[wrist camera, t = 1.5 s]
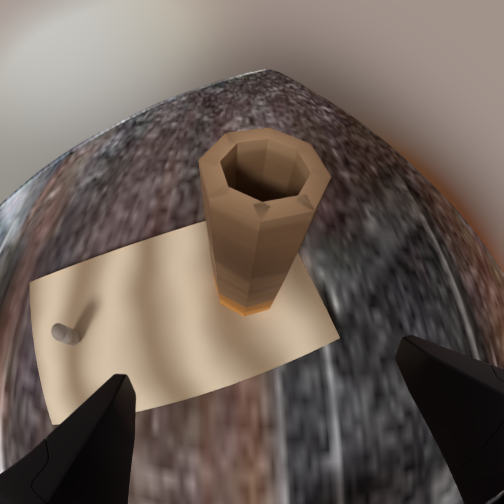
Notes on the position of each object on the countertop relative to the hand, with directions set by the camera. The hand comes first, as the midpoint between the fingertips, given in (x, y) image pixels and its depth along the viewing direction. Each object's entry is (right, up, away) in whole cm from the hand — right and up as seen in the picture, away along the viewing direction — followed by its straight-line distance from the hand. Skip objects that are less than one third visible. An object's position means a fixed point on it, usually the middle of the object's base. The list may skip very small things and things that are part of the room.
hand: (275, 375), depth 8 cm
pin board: (-8, -2, +14) cm, 16 cm away
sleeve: (-1, +1, +14) cm, 15 cm away
